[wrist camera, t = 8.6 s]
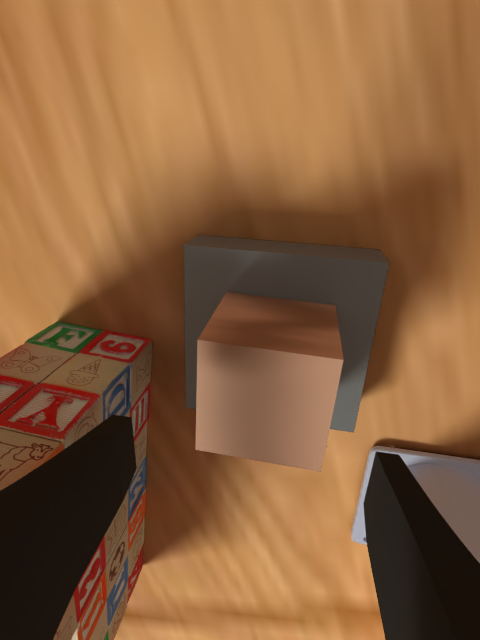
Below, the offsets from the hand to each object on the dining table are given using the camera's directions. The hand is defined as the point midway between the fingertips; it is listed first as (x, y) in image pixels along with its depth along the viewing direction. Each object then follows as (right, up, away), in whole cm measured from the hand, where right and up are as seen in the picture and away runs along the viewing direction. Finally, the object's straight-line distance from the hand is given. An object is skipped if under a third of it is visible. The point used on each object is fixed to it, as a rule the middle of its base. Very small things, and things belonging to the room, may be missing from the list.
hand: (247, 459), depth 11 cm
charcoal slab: (+2, +4, +10) cm, 11 cm away
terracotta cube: (+1, +3, +7) cm, 8 cm away
